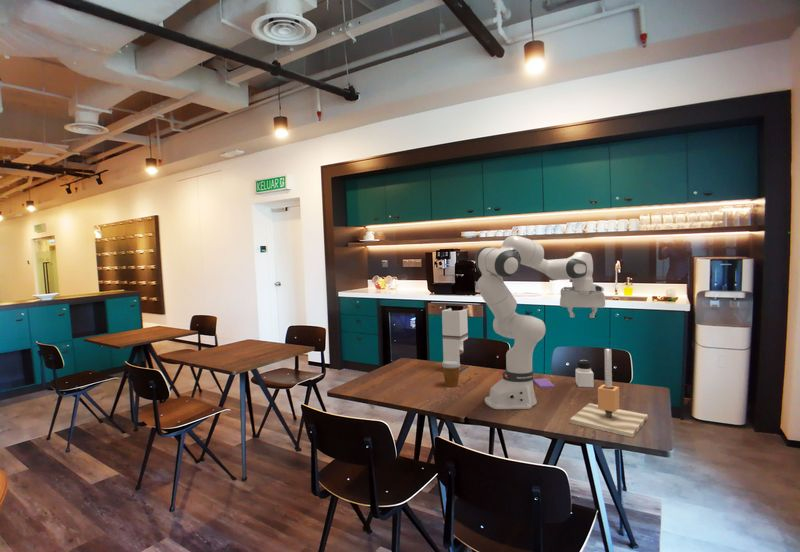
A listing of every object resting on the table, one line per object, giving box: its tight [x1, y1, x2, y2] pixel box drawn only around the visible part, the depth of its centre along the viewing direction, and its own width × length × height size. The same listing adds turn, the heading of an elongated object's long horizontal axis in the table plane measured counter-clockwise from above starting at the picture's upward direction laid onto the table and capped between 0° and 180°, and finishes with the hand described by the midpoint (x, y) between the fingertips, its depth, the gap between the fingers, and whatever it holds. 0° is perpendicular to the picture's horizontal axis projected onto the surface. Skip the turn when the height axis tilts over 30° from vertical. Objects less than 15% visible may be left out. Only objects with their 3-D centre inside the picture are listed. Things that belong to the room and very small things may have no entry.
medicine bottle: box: [574, 359, 595, 388], centre depth 210 cm, size 7×7×12 cm
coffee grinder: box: [441, 307, 470, 374], centre depth 244 cm, size 11×11×35 cm
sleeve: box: [597, 384, 620, 412], centre depth 165 cm, size 6×6×8 cm
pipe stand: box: [569, 403, 649, 438], centre depth 166 cm, size 22×22×2 cm
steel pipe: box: [604, 348, 613, 418], centre depth 165 cm, size 3×3×26 cm
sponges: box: [533, 377, 555, 389], centre depth 214 cm, size 7×13×2 cm, turn 178°
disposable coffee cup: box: [441, 360, 461, 388], centre depth 217 cm, size 10×10×12 cm
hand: (582, 317), depth 196 cm, fingers open, 8 cm apart
